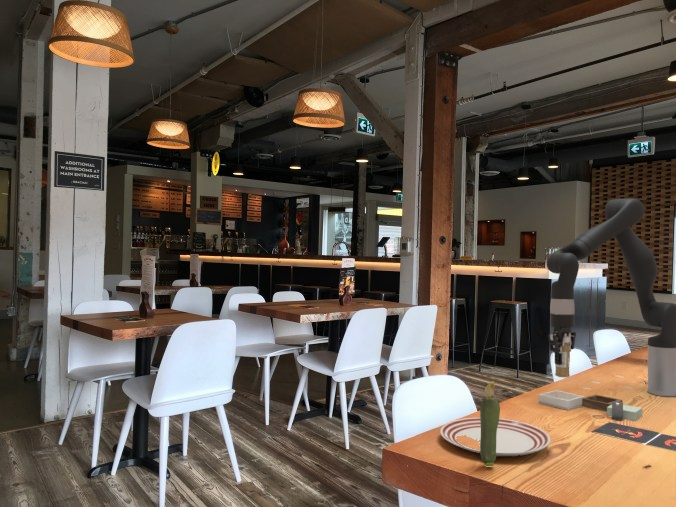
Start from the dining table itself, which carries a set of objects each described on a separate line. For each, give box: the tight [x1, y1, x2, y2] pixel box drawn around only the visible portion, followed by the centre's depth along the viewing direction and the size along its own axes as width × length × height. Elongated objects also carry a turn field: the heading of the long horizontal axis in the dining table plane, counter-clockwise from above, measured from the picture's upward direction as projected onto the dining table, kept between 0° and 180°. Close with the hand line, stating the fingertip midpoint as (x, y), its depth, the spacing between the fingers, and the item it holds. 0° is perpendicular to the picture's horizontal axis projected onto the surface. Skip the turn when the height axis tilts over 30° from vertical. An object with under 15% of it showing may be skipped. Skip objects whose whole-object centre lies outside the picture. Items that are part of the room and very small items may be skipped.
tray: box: [538, 389, 586, 411], centre depth 177 cm, size 10×10×3 cm
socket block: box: [581, 394, 623, 413], centre depth 174 cm, size 9×9×2 cm
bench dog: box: [611, 401, 624, 422], centre depth 161 cm, size 3×3×5 cm
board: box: [606, 404, 643, 422], centre depth 164 cm, size 7×8×3 cm
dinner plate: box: [439, 416, 551, 457], centre depth 138 cm, size 27×27×3 cm
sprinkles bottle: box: [554, 336, 571, 378], centre depth 177 cm, size 5×5×14 cm
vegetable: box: [479, 380, 501, 467], centre depth 122 cm, size 4×4×20 cm
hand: (562, 363), depth 177 cm, fingers closed on sprinkles bottle, 4 cm apart
